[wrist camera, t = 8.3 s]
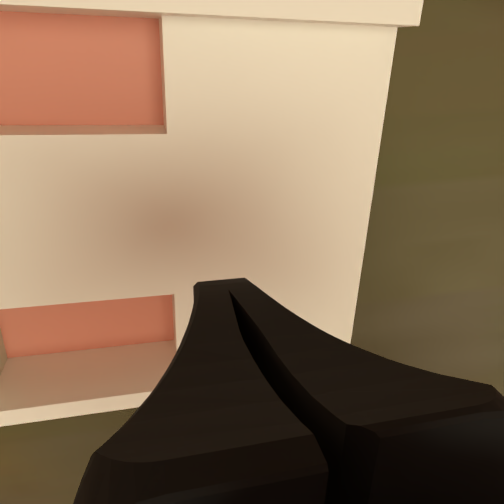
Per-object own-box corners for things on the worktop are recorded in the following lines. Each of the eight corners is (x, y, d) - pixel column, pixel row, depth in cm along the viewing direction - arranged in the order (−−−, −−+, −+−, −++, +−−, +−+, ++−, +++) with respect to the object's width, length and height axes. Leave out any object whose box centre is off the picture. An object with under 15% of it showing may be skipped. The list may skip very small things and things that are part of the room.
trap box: (330, 331, 26) (360, 376, 23) (-153, 386, 21) (-212, 456, 17) (370, 8, 19) (423, 0, 16) (-336, -34, 14) (-496, -61, 10)
